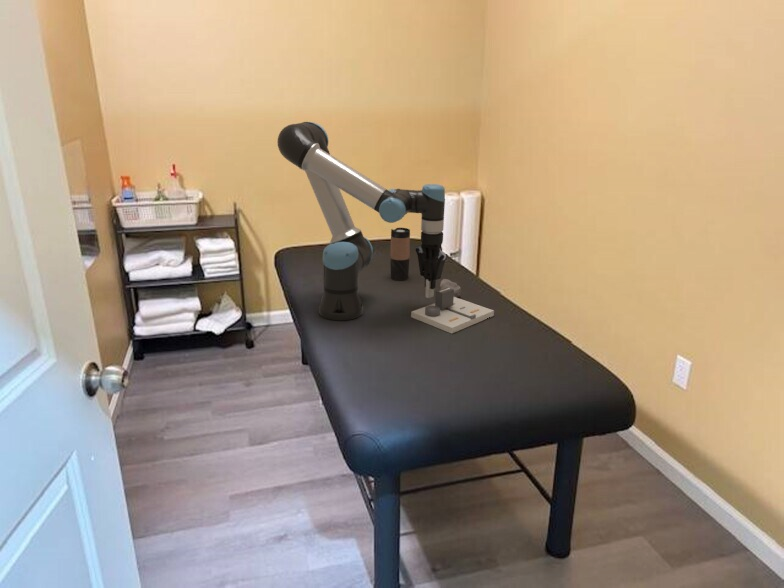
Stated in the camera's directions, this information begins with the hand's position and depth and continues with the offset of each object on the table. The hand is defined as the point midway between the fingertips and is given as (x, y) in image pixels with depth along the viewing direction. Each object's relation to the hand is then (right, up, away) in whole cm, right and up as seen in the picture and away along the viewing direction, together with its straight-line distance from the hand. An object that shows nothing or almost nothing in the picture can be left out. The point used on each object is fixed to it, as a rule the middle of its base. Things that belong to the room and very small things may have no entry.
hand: (429, 296), depth 201 cm
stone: (+8, 0, +13) cm, 15 cm away
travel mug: (-10, +7, +31) cm, 34 cm away
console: (+7, -7, -6) cm, 12 cm away
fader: (+5, -3, -4) cm, 7 cm away
